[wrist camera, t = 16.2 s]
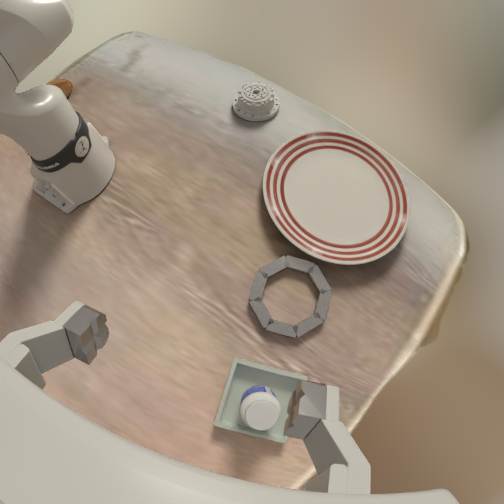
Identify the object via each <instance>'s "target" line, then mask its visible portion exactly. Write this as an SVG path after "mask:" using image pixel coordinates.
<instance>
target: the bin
mask: <svg viewBox="0 0 504 504" xmlns="http://www.w3.org/2000/svg"><path fill="white" fill-rule="evenodd" d="M307 379H308V377H307V376H306V375H303V374H299V373H294V372H290V371H286V370H282V369H278V368H274V367H270V366H267V365H263V364H259V363H256V362H252V361H249V360H245V359H242V358H238V357H235V358H234V361H233V364H232V367H231V370H230V374H229V377H228V380H227V383H226V387H225V390H224V393H223V396H222V400H221V403H220V406H219V409H218V412H217V416H216V419H215V422H214V426H217V427H221V428H224V429H228V430H231V431H235V432H238V433H242V434H246V435H250V436H254V437H258V438H262V439H267V440H271V441H276V442H281V443H286V442H287V439H288V436H284V435H283V433H284V427H285V421H286V420H287V418H288V416H289V415H288V413H287V408H288V403H289V400H290V397H291V395H292V393H293V391H295V390H297V384H298V383H299V381H300V380H306V381H307ZM254 385H264V386H267V387H268V388H270V389H271V390H272V391H273V392H274V393H275V395H276V397H277V399H278V401H279V403H280V406H281V415H280V418H279V420H278V421H277V422H276V424H275V425H274V426H273V427H271V428H270V429H267V430H262V431H260V430H255V429H253V428H251V427H249V426H248V425H246V424H245V423H244V421H243V420H242V418H241V415H240V405H241V398H242V395H243V393H244V392H245V391H246V390H247V389H248V388H249V387H251V386H254Z"/></svg>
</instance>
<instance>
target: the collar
mask: <svg viewBox="0 0 504 504" xmlns="http://www.w3.org/2000/svg"><path fill="white" fill-rule="evenodd" d="M286 268H287V269H291V270H294V271H298V272H301V273H305V274H308V276H309V277H310V279H311V281H312V283H313V284H314V286H315V288H316V289H317V291H318V293H319V294H318V298H317V302H316V306H315V310H314V314H313V315H312V316H310V317H309V318H307V319H305V320H304V321H302V322H300V323H298V324H297V325H291V324H287V323H284V322H280V321H276V320H273V319H272V318H271V316H270V314H269V312H268V310H267V309H266V307H265V305H264V303H263V302H262V300H261V298H262V295H263V291H264V288H265V285H266V281H267V279H268V278H270V277H271V276H273V275H275V274H277V273H279V272H281V271H282V270H284V269H286ZM329 290H331V287H330V286H329V284H328V282H327V281H326V279H325V277H324V276H323V274H322V272H321V271H320V269H319V267H318V266H317V265H315V266H314V262H310V261H307V260H303V259H299V258H296V257H292V256H289V255H287V256H286V257H285V255H284V256H282V257H280V258H278V259H276V260H275V261H273V262H271V263H269V264H267V265H265V266H263V267H262V268H260V269H259V271H257V274H256V277H255V280H254V284H253V287H252V290H251V294H250V297H249V300H250V302H249V303H250V305H251V307H252V309H253V311H254V312H255V314H256V316H257V318H258V320H259V321H260V323H261V325H262V327H263V329H264V328H265V327H266V330H267V331H270V332H274V333H278V334H281V335H285V336H289V337H293V338H295V337H300V336H301V335H303V334H305V333H306V332H308V331H310V330H312V329H313V328H315V327H316V326H318V325H320V324H321V323H323V320H325V318H326V314H327V310H328V306H329V302H330V298H331V293H332V292H331V291H329Z"/></svg>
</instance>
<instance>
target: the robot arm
mask: <svg viewBox="0 0 504 504" xmlns="http://www.w3.org/2000/svg"><path fill="white" fill-rule="evenodd" d="M73 23H74V15H73V10H72V7H71V5H70V4H69V2H68V1H67V0H0V134H3V135H6V136H8V137H10V138H11V139H13V140H14V141H15V142H16V143H18V144H19V145H20V146H21V147H22V148H23V149H24V150H25V151H26V152H28V155H29V154H30V157H31V159H32V165H31V170H30V172H31V175H32V176H33V177H34V178H35V180H34V185H33V190H34V191H35V192H36V193H37V194H39V195H40V196H41V197H43V198H44V199H46V200H47V201H49V202H50V203H51V204H53V205H54V206H56V207H57V208H59V209H60V210H62V211H63V212H64V213H67V214H68V213H70V212H71V211H73V210H74V209H75V208H76V207H77V206H78V205H80V204H82V203H84V202H87V201H89V200H91V199H92V198H94V197H95V196H97V195H98V194H99V193H100V192H101V191H102V190H103V189H104V188H105V186H106V185H107V184H108V182H109V181H110V179H111V177H112V175H113V172H114V168H115V157H114V154H113V153H112V151H111V150H110V148H109V139H108V138H107V137H106V136H100V134H99V133H98V132H97V131H96V129H95V128H94V127H93V126H92V125H91V124H90V123H86V122H85V120H84V119H83V117H82V116H81V115H80V114H79V113H78V112H76V111H75V110H74V109H73V107H72V106H71V104H70V103H69V101H68V99H67V98H66V96H65V95H64V93H63V92H62V90H61V89H60V88H58V87H57V86H54V85H41V86H38V87H35V88H33V89H30V90H28V91H25V92H22V93H15V89H16V87H17V86H18V84H19V83H20V82H21V81H22V80H23V79H24V78H25V77H26V76H27V75H28V74H29V73H31V72H32V71H33V70H34V69H35V68H36V67H37V66H38V65H39V64H40V63H42V62H43V61H44V60H45V59H46V58H47V57H48V56H50V55H51V54H52V53H53V52H54V50H55V49H56V48H57V47H58V46H59V45H60V44H61V43H62V42H63V41H64V40H65V39H66V37H67V36H68V35H69V34H70V33H71V31H72V28H73ZM64 205H65V206H64ZM106 321H107V319H106V315H105V314H103V313H101V312H99V311H97V310H95V309H93V308H91V307H89V306H87V305H85V304H83V303H81V302H79V301H75V302H73V303H72V304H71V305H70V306H69V307H68V308H67V309H66V310H65V311H64V312H63V313H62V314H61V315H60V316H59V317H58V318H57V319H56V320H55V321H54V322H53V321H48V322H45V323H41V324H38V325H35V326H31V327H28V328H24V329H21V330H18V331H14V332H11V333H9V334H8V335H7V336H6V337H5V338H4V339H3V340H2V341H1V342H0V504H459V502H458V501H457V500H456V499H455V498H454V496H453V495H452V494H451V493H450V492H449V491H448V490H446V489H435V490H428V491H419V492H409V493H395V494H370V464H369V463H368V461H367V460H366V458H365V457H364V455H363V454H362V452H361V450H360V449H359V447H358V446H357V444H356V443H355V441H354V440H353V438H352V437H351V435H350V434H349V432H348V430H347V429H346V427H345V426H344V424H343V423H342V422H339V388H338V387H335V386H330V385H325V384H321V383H316V382H311V381H306V380H300V381H299V383H298V384H297V390H295V391H293V393H292V395H291V397H290V400H289V403H288V408H287V413H288V415H289V416H288V418H287V420H286V421H285V427H284V433H283V435H284V436H289V437H293V438H298V439H303V441H304V443H305V446H306V448H307V450H308V452H309V455H310V457H311V459H312V461H313V464H314V466H315V468H316V470H317V472H318V476H316V477H315V478H314V479H312V480H311V481H309V482H308V483H306V486H305V491H303V490H296V489H289V488H282V487H276V486H270V485H265V484H260V483H255V482H250V481H246V480H242V479H238V478H233V477H230V476H226V475H222V474H218V473H215V472H212V471H208V470H205V469H202V468H198V467H195V466H192V465H189V464H186V463H184V462H181V461H178V460H175V459H173V458H170V457H167V456H165V455H162V454H160V453H157V452H155V451H152V450H150V449H148V448H145V447H143V446H141V445H138V444H136V443H134V442H132V441H130V440H128V439H125V438H123V437H121V436H119V435H117V434H115V433H113V432H111V431H109V430H107V429H106V428H104V427H102V426H100V425H98V424H96V423H95V422H93V421H91V420H89V419H87V418H86V417H84V416H82V415H81V414H79V413H77V412H76V411H74V410H72V409H71V408H69V407H68V406H66V405H64V404H63V403H61V402H60V401H58V400H57V399H55V398H54V397H52V396H51V395H49V394H48V393H47V392H45V391H44V390H42V389H43V388H44V386H45V385H46V382H45V380H44V378H43V376H42V373H44V372H46V371H48V370H50V369H52V368H54V367H57V366H59V365H61V364H63V363H65V362H67V361H69V360H71V359H73V358H74V357H75V358H77V359H79V360H80V361H82V362H84V363H86V364H88V365H89V364H90V363H91V362H92V361H93V359H94V358H95V357H96V355H97V350H98V349H100V348H103V346H104V345H105V344H106V342H107V339H108V334H109V331H108V327H107V326H106V324H105V322H106Z"/></svg>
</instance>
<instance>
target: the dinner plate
mask: <svg viewBox="0 0 504 504" xmlns="http://www.w3.org/2000/svg"><path fill="white" fill-rule="evenodd" d="M263 196H264V201H265V205H266V207H267V210H268V212H269V215H270V217H271V219H272V220H273V222H274V224H275V225H276V227H277V228H278V229H279V231H280V232H281V233H282V234H283V235H284V236H285V237H286V238H287V239H288V240H289V241H290V242H291V243H292V244H293V245H295V246H296V247H297V248H299V249H300V250H302V251H303V252H305V253H307V254H308V255H310V256H313V257H315V258H317V259H320V260H322V261H326V262H329V263H334V264H340V265H358V264H364V263H368V262H372V261H375V260H377V259H379V258H381V257H383V256H385V255H386V254H388V253H389V252H390V251H392V250H393V249H394V248H395V247H396V246H397V244H398V243H399V242H400V240H401V239H402V237H403V235H404V233H405V231H406V229H407V226H408V222H409V216H410V200H409V194H408V191H407V187H406V184H405V182H404V180H403V178H402V176H401V174H400V172H399V171H398V169H397V167H396V166H395V165H394V164H393V162H392V161H391V160H390V159H389V158H388V157H387V156H386V155H385V154H384V153H383V152H382V151H381V150H380V149H378V148H377V147H376V146H374V145H373V144H371V143H369V142H368V141H366V140H364V139H362V138H360V137H358V136H355V135H352V134H349V133H346V132H341V131H335V130H313V131H308V132H304V133H301V134H298V135H296V136H294V137H292V138H290V139H288V140H287V141H285V142H284V143H283V144H282V145H280V146H279V147H278V148H277V149H276V150H275V152H274V153H273V154H272V156H271V157H270V159H269V161H268V163H267V165H266V167H265V171H264V175H263Z"/></svg>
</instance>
